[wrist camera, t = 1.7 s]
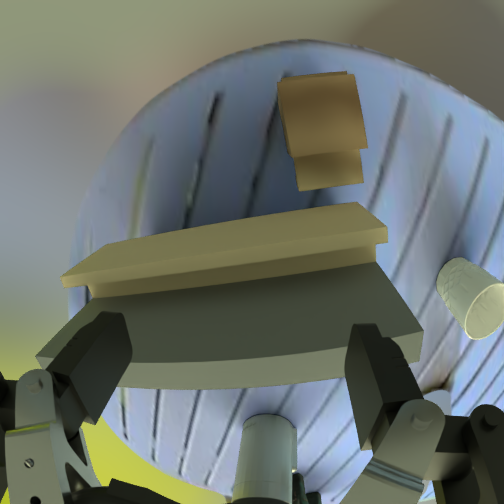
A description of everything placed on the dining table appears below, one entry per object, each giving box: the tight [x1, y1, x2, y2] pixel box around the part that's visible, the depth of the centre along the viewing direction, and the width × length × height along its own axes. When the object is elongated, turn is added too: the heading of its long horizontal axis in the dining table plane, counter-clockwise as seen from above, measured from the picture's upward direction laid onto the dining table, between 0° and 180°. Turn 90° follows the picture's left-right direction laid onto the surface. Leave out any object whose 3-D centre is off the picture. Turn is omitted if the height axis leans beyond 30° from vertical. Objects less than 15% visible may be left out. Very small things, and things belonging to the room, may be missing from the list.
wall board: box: [35, 202, 424, 390], centre depth 26 cm, size 12×24×24 cm, turn 101°
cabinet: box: [277, 71, 368, 192], centre depth 26 cm, size 10×6×12 cm, turn 11°
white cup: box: [436, 257, 504, 340], centre depth 32 cm, size 8×8×10 cm
